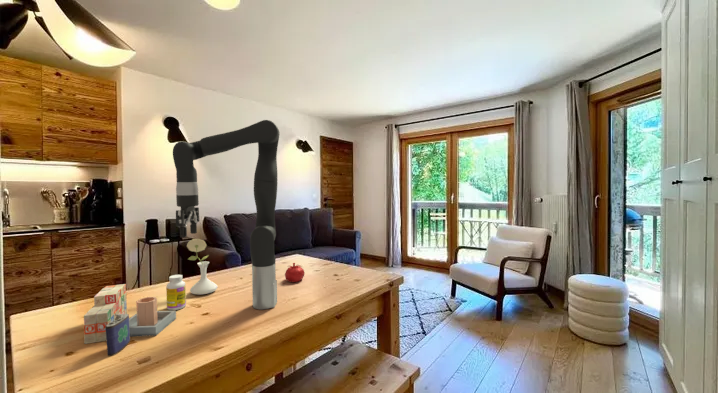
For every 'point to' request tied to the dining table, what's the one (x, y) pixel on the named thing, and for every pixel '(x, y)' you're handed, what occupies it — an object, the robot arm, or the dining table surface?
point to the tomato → (294, 273)
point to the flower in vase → (204, 283)
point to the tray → (162, 323)
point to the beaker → (147, 311)
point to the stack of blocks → (104, 312)
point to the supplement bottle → (176, 293)
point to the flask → (117, 334)
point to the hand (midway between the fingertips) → (188, 235)
